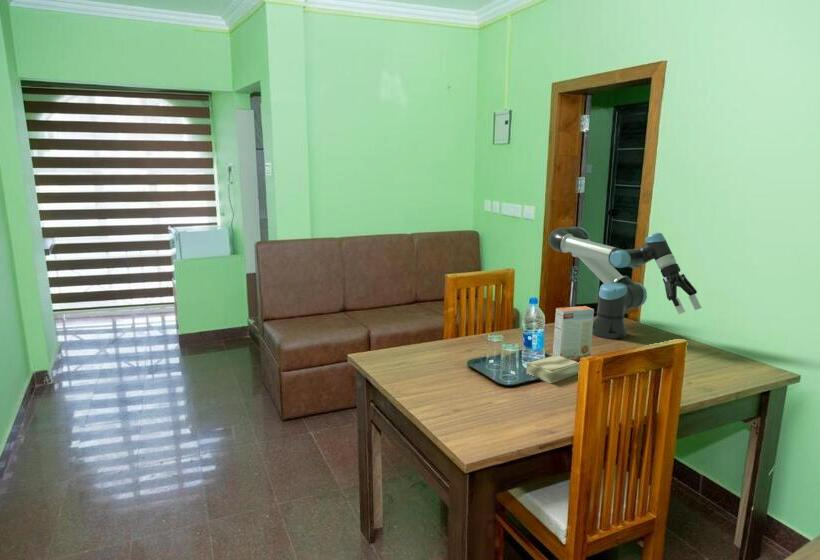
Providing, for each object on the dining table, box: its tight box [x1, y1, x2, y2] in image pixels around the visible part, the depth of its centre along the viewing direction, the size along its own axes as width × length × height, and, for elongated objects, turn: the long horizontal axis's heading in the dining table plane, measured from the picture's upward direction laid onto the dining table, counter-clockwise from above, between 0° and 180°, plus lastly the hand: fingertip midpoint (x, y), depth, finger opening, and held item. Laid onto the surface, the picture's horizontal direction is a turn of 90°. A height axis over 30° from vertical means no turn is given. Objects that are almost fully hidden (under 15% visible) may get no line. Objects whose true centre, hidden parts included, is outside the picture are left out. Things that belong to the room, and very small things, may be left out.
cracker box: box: [552, 305, 595, 362], centre depth 214 cm, size 14×6×21 cm, turn 108°
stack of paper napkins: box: [525, 354, 580, 384], centre depth 199 cm, size 11×17×4 cm, turn 128°
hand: (690, 311), depth 232 cm, fingers open, 13 cm apart
